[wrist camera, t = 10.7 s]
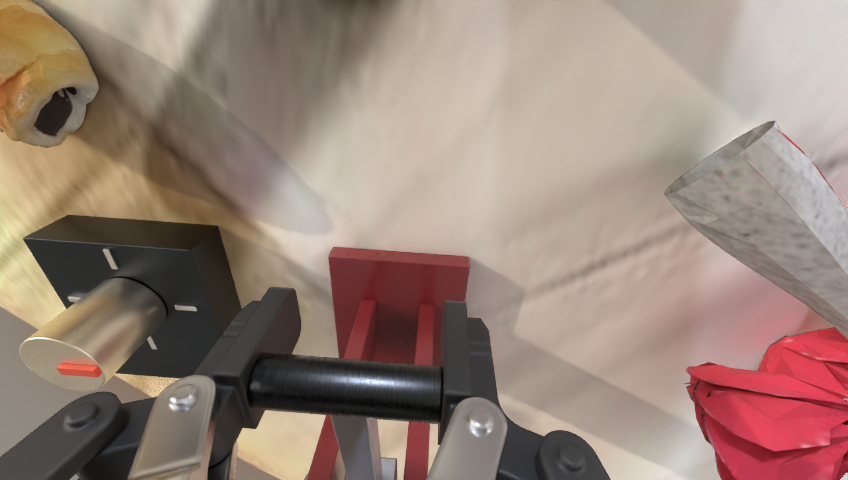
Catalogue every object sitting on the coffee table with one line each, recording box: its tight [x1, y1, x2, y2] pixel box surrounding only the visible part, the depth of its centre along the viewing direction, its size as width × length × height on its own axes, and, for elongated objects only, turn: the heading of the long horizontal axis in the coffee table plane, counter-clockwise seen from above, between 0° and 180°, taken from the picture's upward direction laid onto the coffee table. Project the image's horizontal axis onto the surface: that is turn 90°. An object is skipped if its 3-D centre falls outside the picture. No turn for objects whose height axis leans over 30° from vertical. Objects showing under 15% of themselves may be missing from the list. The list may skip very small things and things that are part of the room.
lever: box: [248, 353, 443, 480], centre depth 13 cm, size 12×5×2 cm, turn 177°
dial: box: [19, 278, 166, 391], centre depth 21 cm, size 4×4×5 cm
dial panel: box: [23, 215, 241, 378], centre depth 25 cm, size 12×10×3 cm
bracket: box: [305, 247, 470, 480], centre depth 21 cm, size 11×9×14 cm
